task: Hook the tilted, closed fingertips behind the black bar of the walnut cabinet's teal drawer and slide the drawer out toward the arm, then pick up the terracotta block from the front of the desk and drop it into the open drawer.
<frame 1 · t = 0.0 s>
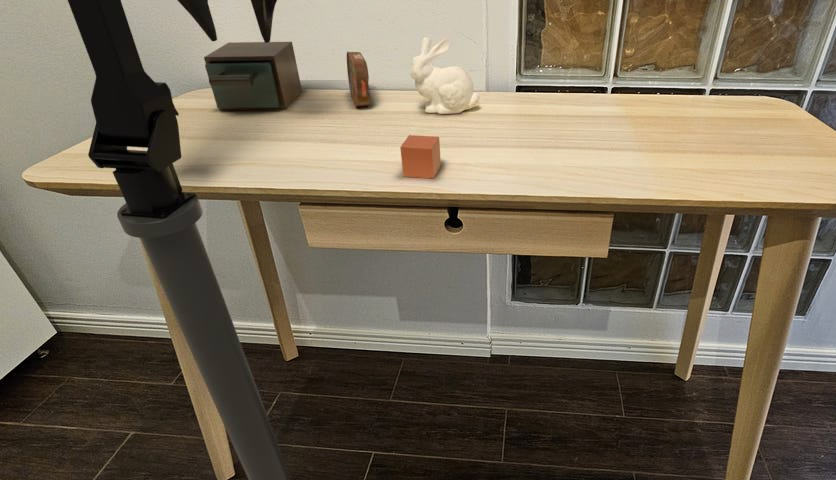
hand: (240, 41, 85), 14 cm above the table, tool pointing down, fingers open, 9 cm apart
tin: (361, 101, 105), on the table
rabbit: (441, 109, 100), on the table
cabinet: (262, 100, 106), on the table
block: (422, 171, 78), on the table
drawer: (248, 82, 99), point 5 cm above the table, slide at 0.5 cm
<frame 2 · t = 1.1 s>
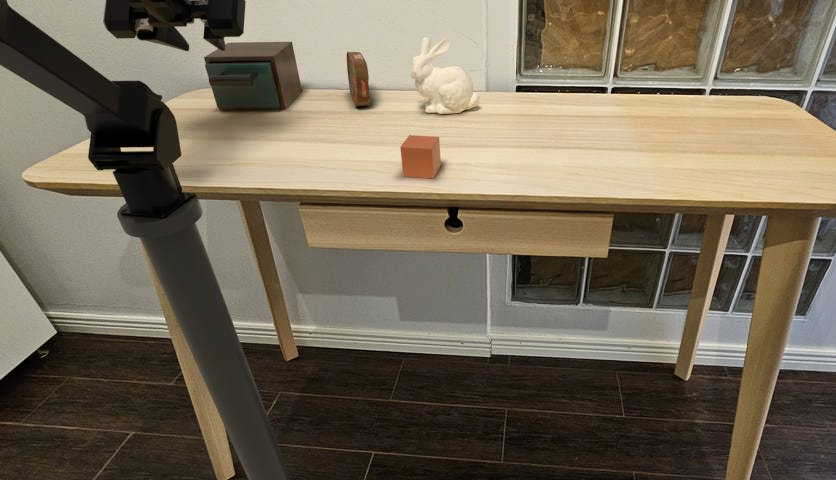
hand: (206, 48, 84), 14 cm above the table, tool tilted 45°, fingers open, 5 cm apart
nothing on the table moved.
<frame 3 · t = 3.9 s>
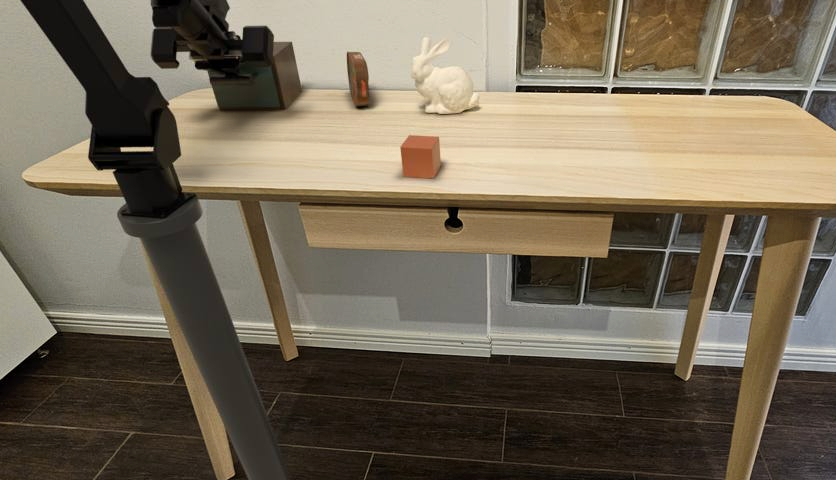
hand: (236, 74, 94), 7 cm above the table, tool tilted 45°, fingers closed, pressing on drawer
drawer: (248, 81, 99), point 5 cm above the table, slide at 0.2 cm, touching gripper
everything else where it was.
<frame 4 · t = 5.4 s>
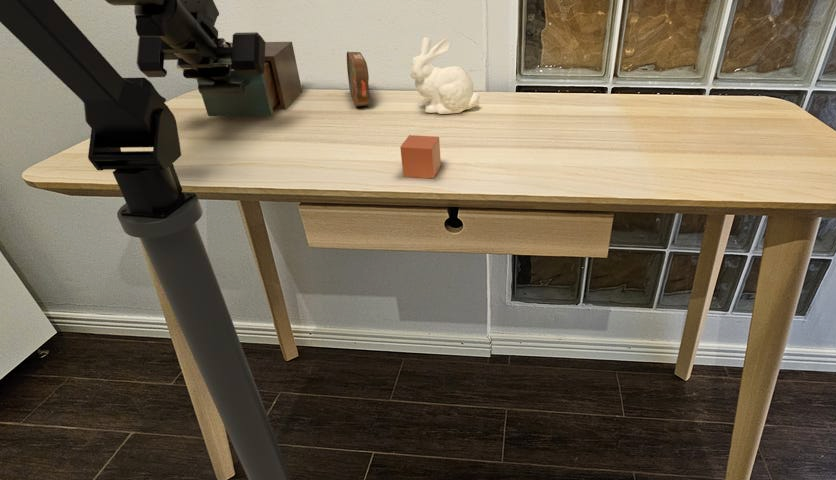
hand: (227, 81, 91), 7 cm above the table, tool tilted 45°, fingers closed, pressing on drawer
drawer: (239, 89, 96), point 5 cm above the table, slide at 4.8 cm, touching gripper
everything else where it was.
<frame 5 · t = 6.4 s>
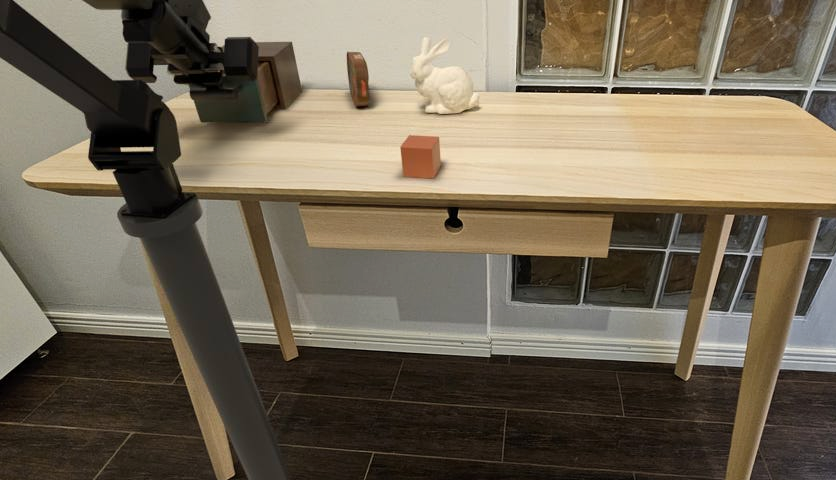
hand: (220, 87, 88), 7 cm above the table, tool tilted 45°, fingers closed, pressing on drawer
drawer: (233, 94, 93), point 5 cm above the table, slide at 8.0 cm, touching gripper
everything else where it was.
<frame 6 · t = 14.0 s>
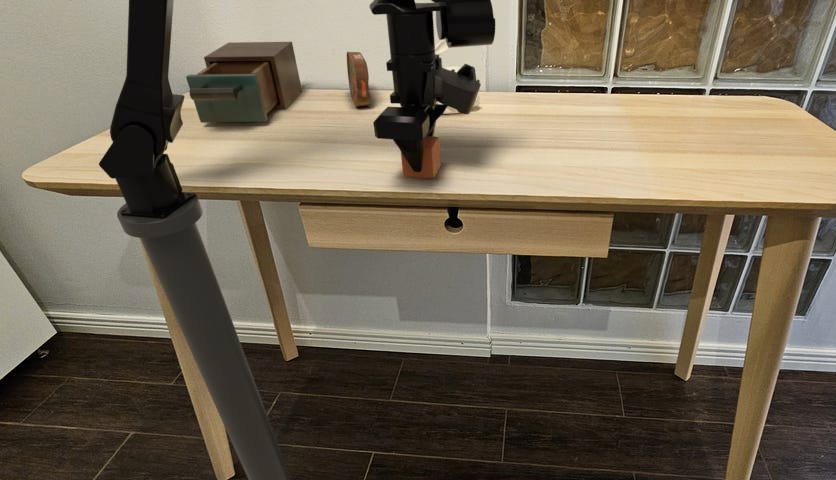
hand: (421, 164, 77), 1 cm above the table, tool pointing down, fingers closed on block, 4 cm apart
block: (422, 171, 78), on the table, touching gripper
drawer: (233, 94, 93), point 5 cm above the table, slide at 8.0 cm
everything else where it was.
when the fingers open (8 cm above the table, at t = 21.4 s): block drops 5 cm, resting on drawer.
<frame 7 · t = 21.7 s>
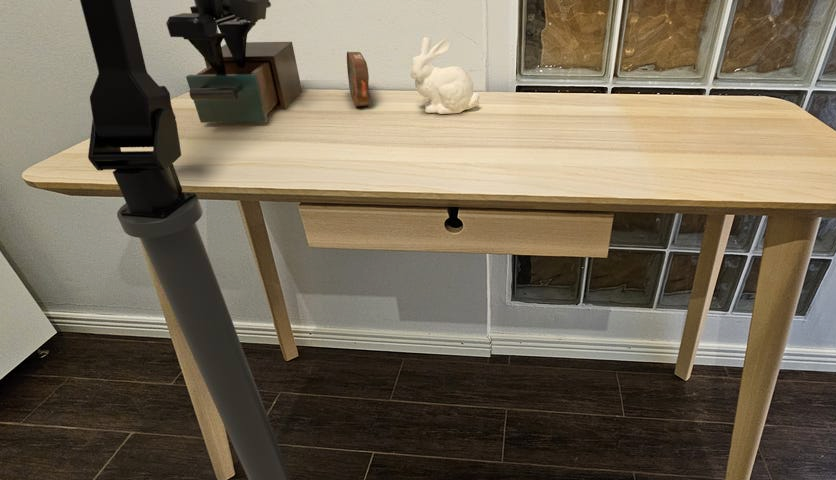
hand: (232, 71, 93), 8 cm above the table, tool pointing down, fingers open, 6 cm apart
block: (243, 105, 97), point 2 cm above the table, touching drawer
drawer: (233, 94, 93), point 5 cm above the table, slide at 8.0 cm, touching block
everything else where it was.
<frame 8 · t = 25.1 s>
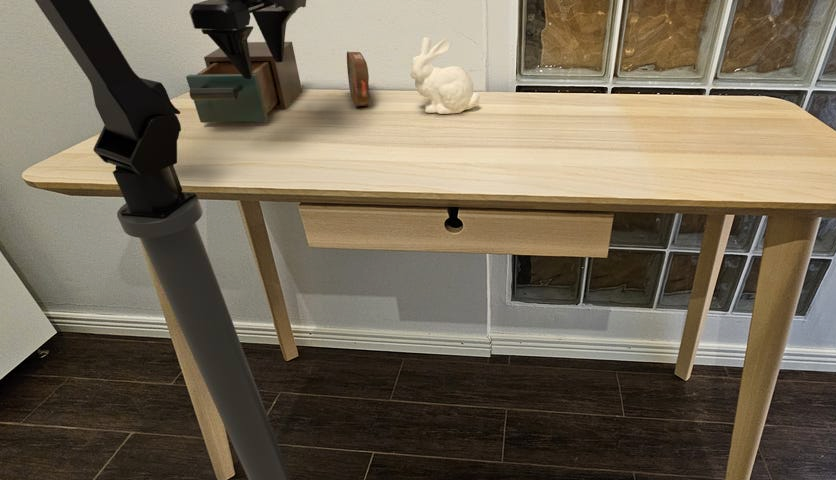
hand: (264, 70, 79), 12 cm above the table, tool pointing down, fingers open, 9 cm apart
nothing on the table moved.
at the end: drawer slide at 8.0 cm; block inside the target area in the drawer (1.1 cm from its centre), point 2.0 cm above the cabinet's base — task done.
